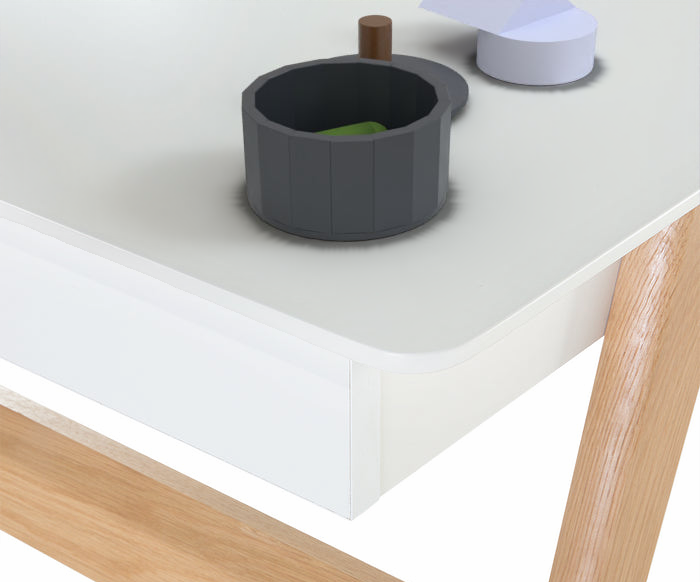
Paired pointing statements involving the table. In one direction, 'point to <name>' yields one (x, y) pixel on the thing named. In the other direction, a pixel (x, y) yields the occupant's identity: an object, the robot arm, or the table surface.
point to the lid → (405, 57)
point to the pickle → (356, 129)
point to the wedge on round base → (527, 38)
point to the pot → (346, 148)
